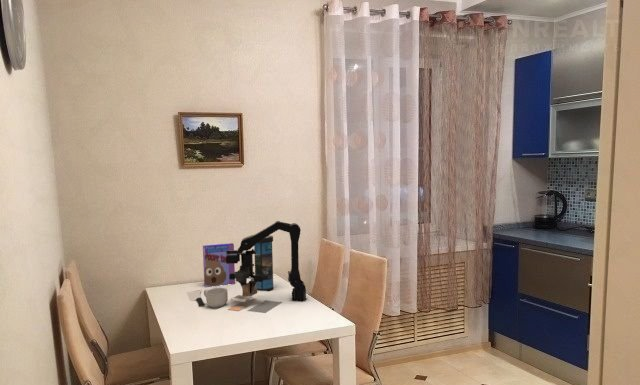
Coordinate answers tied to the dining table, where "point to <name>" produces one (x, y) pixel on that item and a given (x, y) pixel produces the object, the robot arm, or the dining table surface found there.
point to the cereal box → (217, 265)
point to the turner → (245, 293)
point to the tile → (236, 308)
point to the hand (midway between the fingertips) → (248, 293)
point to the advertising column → (264, 263)
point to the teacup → (216, 297)
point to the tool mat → (264, 306)
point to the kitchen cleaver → (196, 297)
